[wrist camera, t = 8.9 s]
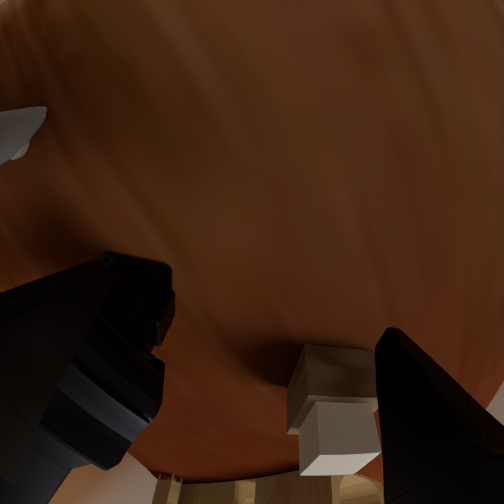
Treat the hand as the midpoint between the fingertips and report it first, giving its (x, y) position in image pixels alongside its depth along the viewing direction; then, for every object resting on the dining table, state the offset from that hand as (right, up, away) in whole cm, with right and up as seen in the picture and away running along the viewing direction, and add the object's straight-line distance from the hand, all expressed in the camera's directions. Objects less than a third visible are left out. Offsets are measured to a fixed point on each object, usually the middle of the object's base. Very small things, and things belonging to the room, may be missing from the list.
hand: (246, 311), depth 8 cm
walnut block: (+8, -10, +19) cm, 23 cm away
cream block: (+7, -13, +13) cm, 20 cm away
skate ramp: (+5, -52, +40) cm, 66 cm away
